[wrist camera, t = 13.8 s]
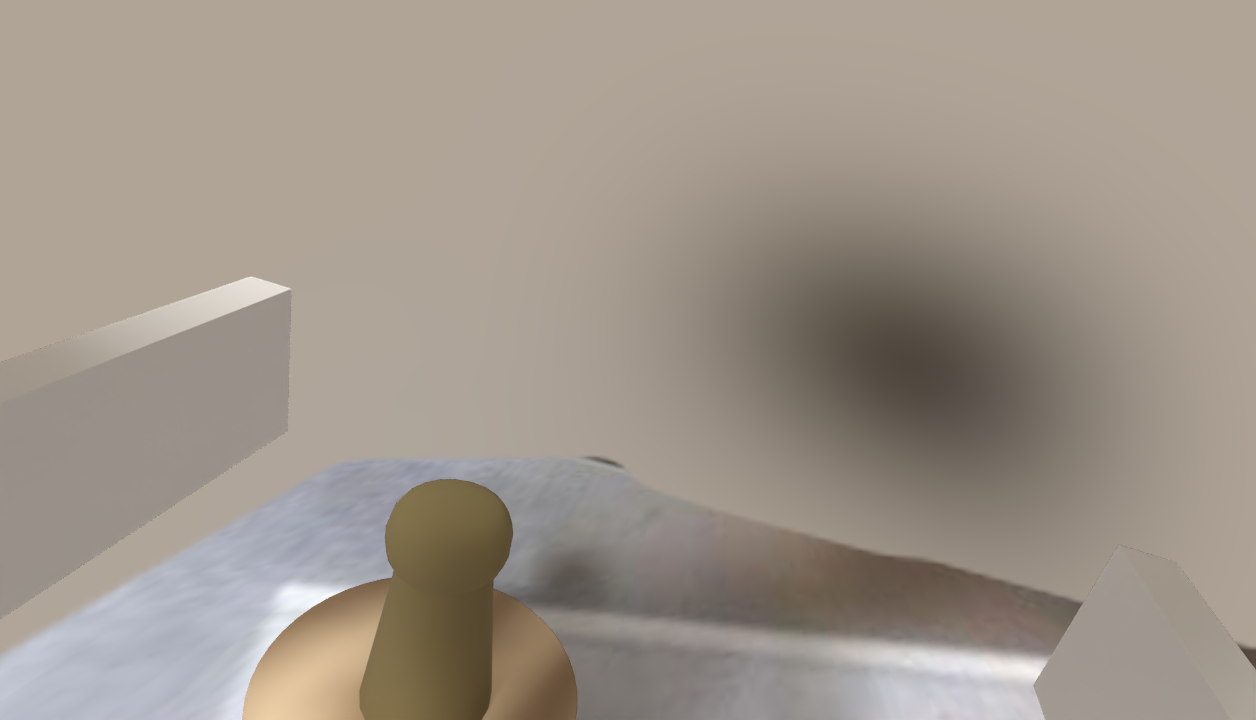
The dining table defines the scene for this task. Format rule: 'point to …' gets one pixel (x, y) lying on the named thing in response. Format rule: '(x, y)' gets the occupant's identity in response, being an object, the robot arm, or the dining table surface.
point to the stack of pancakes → (341, 644)
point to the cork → (438, 605)
